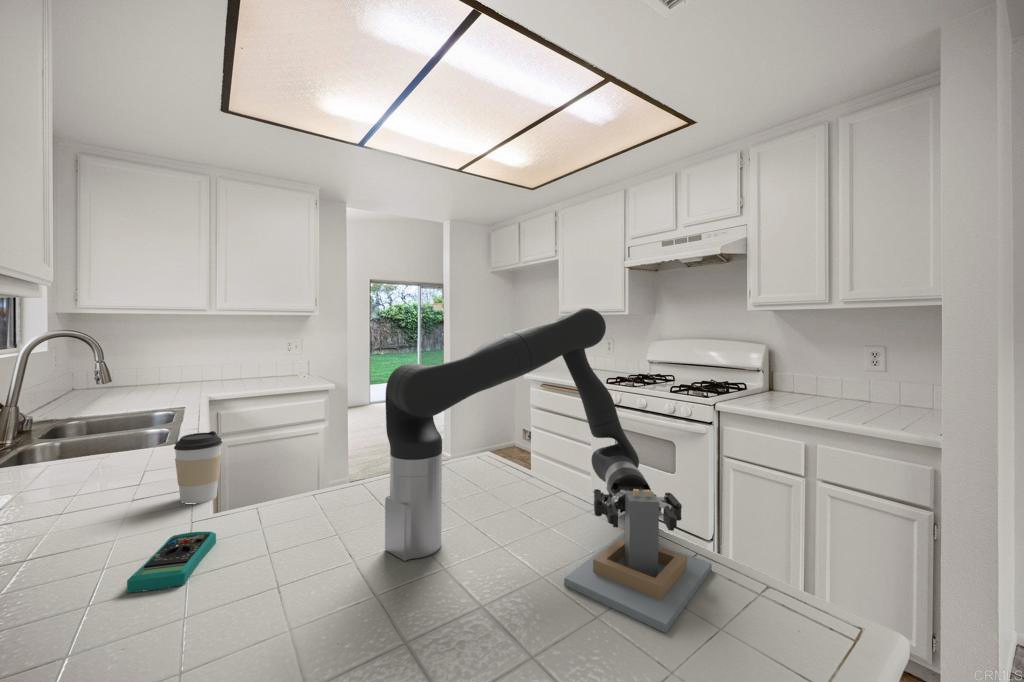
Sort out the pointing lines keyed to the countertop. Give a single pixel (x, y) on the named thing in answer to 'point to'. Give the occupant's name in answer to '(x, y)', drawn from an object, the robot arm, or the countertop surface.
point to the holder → (640, 583)
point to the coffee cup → (198, 466)
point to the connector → (641, 532)
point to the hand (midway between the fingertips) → (643, 523)
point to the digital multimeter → (172, 562)
